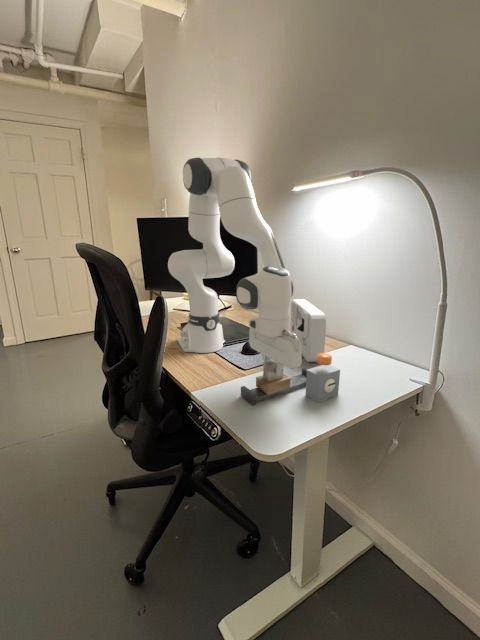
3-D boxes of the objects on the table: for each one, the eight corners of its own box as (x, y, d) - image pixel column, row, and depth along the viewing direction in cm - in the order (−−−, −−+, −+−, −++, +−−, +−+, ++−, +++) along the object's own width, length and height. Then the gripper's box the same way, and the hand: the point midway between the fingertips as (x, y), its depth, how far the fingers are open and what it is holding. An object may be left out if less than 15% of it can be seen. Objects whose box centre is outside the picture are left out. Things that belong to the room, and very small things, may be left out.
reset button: (313, 361, 93) (314, 355, 92) (323, 358, 95) (324, 352, 94) (324, 366, 90) (324, 359, 89) (334, 363, 92) (334, 356, 91)
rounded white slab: (284, 338, 144) (285, 298, 139) (301, 337, 144) (303, 297, 139) (302, 364, 116) (305, 315, 111) (323, 363, 117) (327, 315, 112)
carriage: (255, 386, 97) (256, 361, 95) (277, 379, 101) (278, 355, 99) (268, 394, 92) (268, 368, 90) (290, 387, 96) (291, 362, 94)
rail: (240, 396, 95) (240, 386, 94) (304, 376, 107) (304, 367, 106) (252, 405, 90) (252, 395, 89) (317, 383, 102) (318, 374, 101)
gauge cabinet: (305, 395, 95) (306, 369, 93) (325, 388, 99) (327, 363, 97) (319, 403, 91) (321, 377, 88) (339, 395, 95) (341, 370, 92)
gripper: (308, 334, 85) (306, 382, 88) (262, 316, 101) (262, 358, 105) (289, 338, 81) (287, 388, 85) (245, 319, 98) (245, 362, 102)
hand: (273, 371), depth 95 cm, fingers closed on carriage, 3 cm apart
